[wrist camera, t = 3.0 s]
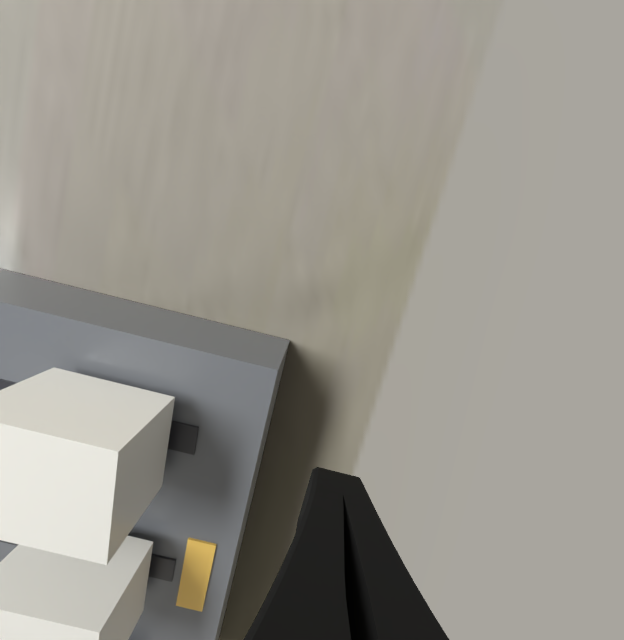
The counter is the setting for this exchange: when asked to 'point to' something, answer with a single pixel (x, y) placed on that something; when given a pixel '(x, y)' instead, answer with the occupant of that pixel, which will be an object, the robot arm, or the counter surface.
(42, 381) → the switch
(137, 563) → the switch middle
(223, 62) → the counter surface
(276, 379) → the switch box
